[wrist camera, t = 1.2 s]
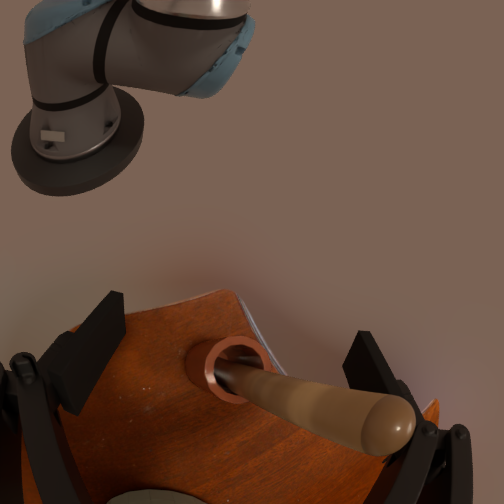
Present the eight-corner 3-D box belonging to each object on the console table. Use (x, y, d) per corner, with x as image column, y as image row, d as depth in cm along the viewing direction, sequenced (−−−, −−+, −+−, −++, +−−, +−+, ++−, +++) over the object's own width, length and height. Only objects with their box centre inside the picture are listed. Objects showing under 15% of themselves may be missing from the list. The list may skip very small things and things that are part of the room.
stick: (196, 362, 27) (378, 436, 6) (215, 351, 28) (420, 382, 7) (207, 380, 27) (395, 474, 6) (226, 369, 28) (432, 425, 7)
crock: (175, 356, 27) (190, 358, 19) (216, 332, 30) (249, 323, 22) (201, 398, 27) (229, 416, 18) (241, 372, 30) (283, 377, 21)
